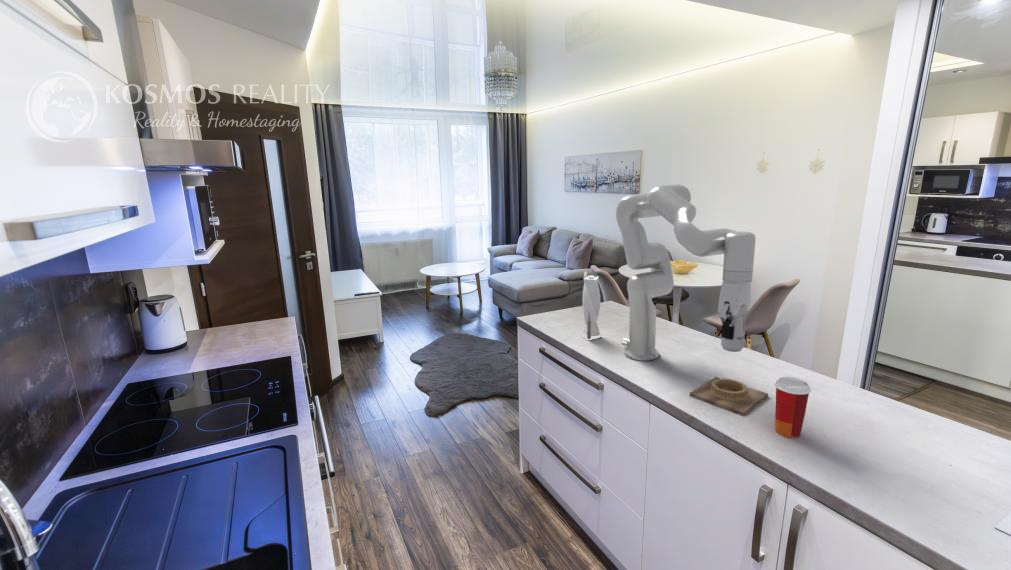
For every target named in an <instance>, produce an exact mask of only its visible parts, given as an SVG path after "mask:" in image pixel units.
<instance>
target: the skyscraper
mask: <svg viewBox="0 0 1011 570" xmlns="http://www.w3.org/2000/svg"><path fill="white" fill-rule="evenodd" d="M599 278H600V277H599V275H597V276H595V275H588V271H585V272H584V274H583V283H584V284H583V287H582V298H581V299H582V310H583V311H582V312H583V317H584V321H585V323H584V327H583V331H582V334H583V333H585V334H586V335H587V338H588V339H590V338H591V336H598V335H600V336H601V333H600V330H599V326H598V317H599V314H600V308H601V293H600V287H599V282H598V281H599Z"/></svg>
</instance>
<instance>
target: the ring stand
mask: <svg viewBox="0 0 1011 570" xmlns="http://www.w3.org/2000/svg"><path fill="white" fill-rule="evenodd" d="M689 397H692V398H695V399H698V400H700V401H702V402H705V403H708V404H711V405H713V406H716V407H719V408H721V409H723V410H727V411H730V412H733V413H735V414H738V415H740V416H745V415H746V414H747V413H749V412H750V411H752V410H753V409H754V408H755V407H757V406H758V405H759V404H760V403H762V402H763V401H764V400H766V399H767V398H768V397H769V393H768V392H765V391H762V390H758V389H755V388H752V387H749V386H748V385H746V384H744V382H742V381H739V380H736V379H733V378H732V379H731V378H723V377H722V378H720V377H718V376H714V377H713V378H712V379H710V380H708V381H707V382H705V383H703V384H702V385H700V386H698V387H696V388H695V389H694V390H692V391H690V392H689Z"/></svg>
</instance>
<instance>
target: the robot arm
mask: <svg viewBox="0 0 1011 570" xmlns="http://www.w3.org/2000/svg"><path fill="white" fill-rule="evenodd" d="M691 199H692V195H691V192H690V189H688V188H687V187H686V186H684V185H682V184H669V185H668V184H667V185H658V186H656V187H654V188H653V189H651V190H650V191H649V192H648V193H640V194H639V193H638V194H630V195H628V196H625V197H623V198H622V199H620V200H619V202H618V203H617V206H616V209H615V217H616V222H617V225H618V227H619V230H620V234H621V237H622V238H621V240H622V244H623V249H624V254H625V259H626V263H627V266H628V268H629V269H631V270H633V271H634V270H635V271H636V270H639V271H640V270H647V269H650V271H647V272H642V273H641V272H640V273H636V274H634V275H632V276H630V278H629V279H628V280H627V283H626V287H627V288H626V289H627V295H628V301H629V303H628V305H629V308H628V309H629V315H628V316H629V317H628V318H629V323H628V324H629V325H628V326H629V327H628V330H629V331H628V338H625V337H624V338H623V339H622V341H621V345H622V346H625V347H626V348H625V349H624V355H625V356H626V357H627V356H628V357H627V358H629V359H631V358H632V360H635V361H641V362H643V361H645V362H646V361H654V360H656V359H658V358H659V357H660V351H659V350H657V348H656V333H657V332H656V329H657V309H656V305H655V304H654V302H653V300H652V299H654V298H657V297H658V298H659V297H662V296H667V295H668V294H670V293H671V292H672V291H673V289H674V285H675V282H674V281H675V280H674V276H673V275H674V274H673V270H672V264H671V259H670V254H669V251H668V249H667V247H666V245H664V244H663V243H661V242H659V241H648V239H647V232H646V229H645V228H644V226H643V225H642V223H641V222H640V221H639V219H643V218H644V219H645V218H654V217H655V218H656V217H662V218H663V219H664V220H666V221H667V222H668V223H669V224H671V226H673V233H674V236H675V238H676V240H677V242H678V243H679V244H680V245H681V246H682V247H683V248H685V250H686V251H688V252H689V253H690V254H692V255H694V256H696V257H699V258H700V257H701V258H704V257H711V256H717V255H723V264H722V265H723V267H722V279H721V280H722V282H721V287H720V293H719V297H718V298H719V299H718V305H717V306H718V307H717V313H718V315H719V318H720V320H721V336H722V338H726V339H730V340H732V339H733V338H734V326H733V323H734V319H735V317H736V316H738V314H739V311H740V308H741V306H742V305H743V304H744V303H745V304H746V305H747V312H748V310H749V309H750V305H751V304H750V303H751V283H752V282H753V277H754V276H753V275H754V262H755V251H756V250H755V249H756V239H757V238H756V235H755V234H754V233H753V232H750V231H736V230H733V229H729V228H716V229H708V230H701V229H699V228H698V227H697V226H695V225H694V224H693V223H692V222H693V220H694V219H695V217H696V215H697V208H696V207H695V205H694V204H692V203H691ZM728 312H729V313H732V315H727V314H728ZM727 317H731V320H729V319H728V318H727Z"/></svg>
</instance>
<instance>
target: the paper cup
mask: <svg viewBox="0 0 1011 570" xmlns="http://www.w3.org/2000/svg"><path fill="white" fill-rule="evenodd" d="M774 387H775V410H774V411H775V412H774V413H775V416H774V419H775V420H774V421H775V422H774V429H775V433H776V434H778V435H780V436H783V437H785V438H789V439H797V438H799V437H800V436H801V434H802V431H803V430H802V429H803V425H804V424H803V423H804V420H805V416H806V413H807V412H806V410H807V406H808V399H809V394H810V393H811V392H812V389H811V387H810V385H809V383H807V381H805V380H803V379H800V378H797V377H793V376H792V377H791V376H781V377H779V378H778V379H777V380H776V381H775V383H774Z"/></svg>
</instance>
